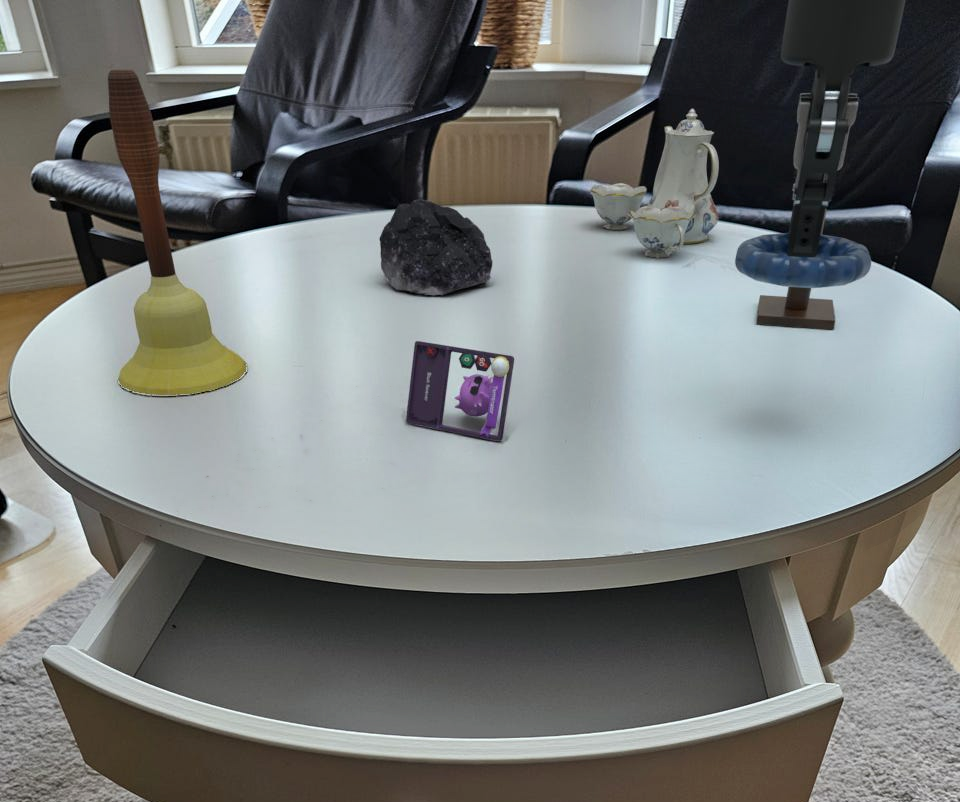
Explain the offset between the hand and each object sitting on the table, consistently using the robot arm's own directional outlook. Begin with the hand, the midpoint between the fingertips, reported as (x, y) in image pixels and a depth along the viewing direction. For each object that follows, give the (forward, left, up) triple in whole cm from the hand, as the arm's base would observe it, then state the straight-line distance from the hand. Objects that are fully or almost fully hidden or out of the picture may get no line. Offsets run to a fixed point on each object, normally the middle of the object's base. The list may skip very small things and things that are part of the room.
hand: (800, 252), depth 71 cm
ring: (0, +4, 0) cm, 4 cm away
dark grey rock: (+41, -33, -13) cm, 54 cm away
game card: (+25, +9, -13) cm, 30 cm away
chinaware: (+17, -63, -13) cm, 67 cm away
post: (-2, -29, -13) cm, 32 cm away
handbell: (+55, +4, -13) cm, 57 cm away
